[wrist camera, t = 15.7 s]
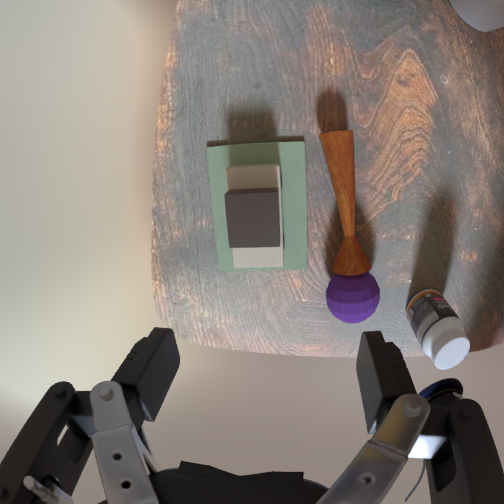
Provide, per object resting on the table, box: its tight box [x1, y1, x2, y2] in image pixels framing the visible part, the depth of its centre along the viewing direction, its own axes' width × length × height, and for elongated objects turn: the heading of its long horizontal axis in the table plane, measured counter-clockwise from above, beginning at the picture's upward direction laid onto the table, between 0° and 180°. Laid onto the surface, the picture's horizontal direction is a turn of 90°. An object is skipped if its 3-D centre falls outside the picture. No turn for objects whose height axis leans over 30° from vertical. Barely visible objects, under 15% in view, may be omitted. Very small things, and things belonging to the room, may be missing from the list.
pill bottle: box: [406, 289, 470, 370], centre depth 29 cm, size 6×6×10 cm
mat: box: [206, 141, 307, 271], centre depth 31 cm, size 14×10×1 cm
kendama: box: [319, 130, 380, 323], centre depth 28 cm, size 6×6×20 cm
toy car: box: [224, 164, 285, 268], centre depth 28 cm, size 10×5×5 cm, turn 4°
